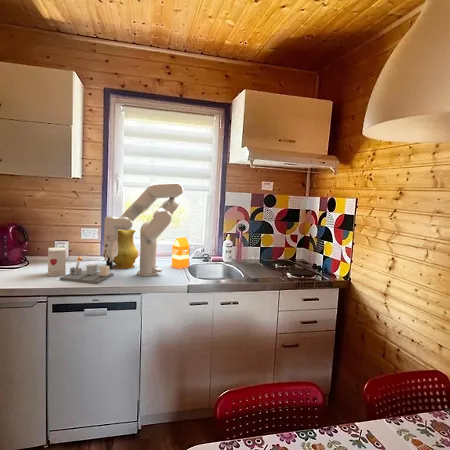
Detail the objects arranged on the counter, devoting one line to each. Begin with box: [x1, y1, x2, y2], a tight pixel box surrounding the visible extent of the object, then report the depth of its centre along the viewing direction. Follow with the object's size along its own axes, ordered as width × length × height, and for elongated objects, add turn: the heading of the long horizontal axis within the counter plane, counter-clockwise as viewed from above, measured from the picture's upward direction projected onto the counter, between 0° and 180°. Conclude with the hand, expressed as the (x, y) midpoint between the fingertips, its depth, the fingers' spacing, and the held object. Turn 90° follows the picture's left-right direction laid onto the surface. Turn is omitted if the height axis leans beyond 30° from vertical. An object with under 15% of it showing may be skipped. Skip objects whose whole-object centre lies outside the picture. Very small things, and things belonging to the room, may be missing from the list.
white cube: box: [85, 263, 98, 275], centre depth 196 cm, size 4×4×5 cm
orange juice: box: [171, 236, 190, 269], centre depth 232 cm, size 8×9×20 cm
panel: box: [59, 266, 115, 285], centre depth 193 cm, size 22×18×5 cm
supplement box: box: [47, 247, 67, 277], centre depth 197 cm, size 9×9×15 cm
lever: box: [73, 256, 83, 273], centre depth 196 cm, size 2×2×9 cm
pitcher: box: [113, 228, 139, 269], centre depth 225 cm, size 17×19×25 cm
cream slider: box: [99, 264, 111, 276], centre depth 195 cm, size 4×4×5 cm
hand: (109, 268), depth 201 cm, fingers closed
